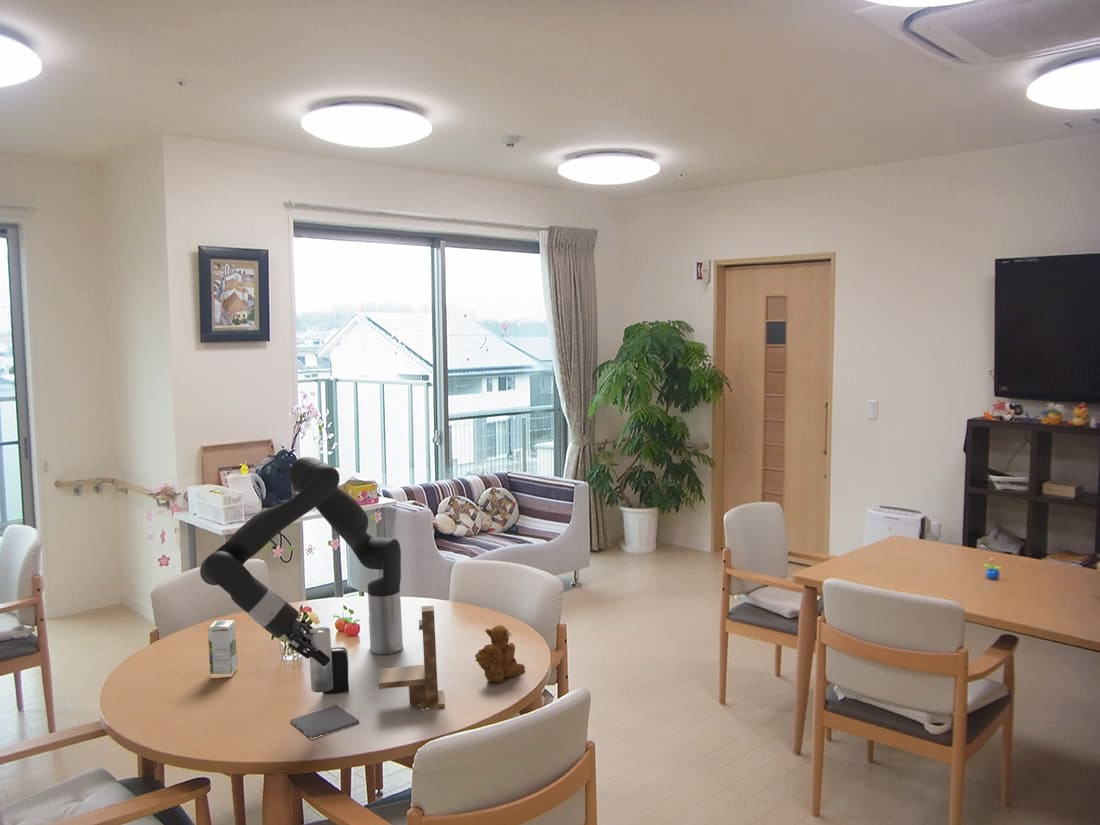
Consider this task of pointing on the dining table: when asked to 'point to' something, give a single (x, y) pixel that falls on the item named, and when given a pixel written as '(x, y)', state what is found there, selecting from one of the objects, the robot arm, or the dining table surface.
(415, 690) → the walnut standard
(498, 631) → the stuffed squirrel
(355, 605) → the dining table surface
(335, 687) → the battery charger
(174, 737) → the dining table surface
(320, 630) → the steel cylinder
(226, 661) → the syrup box
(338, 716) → the felt pad
